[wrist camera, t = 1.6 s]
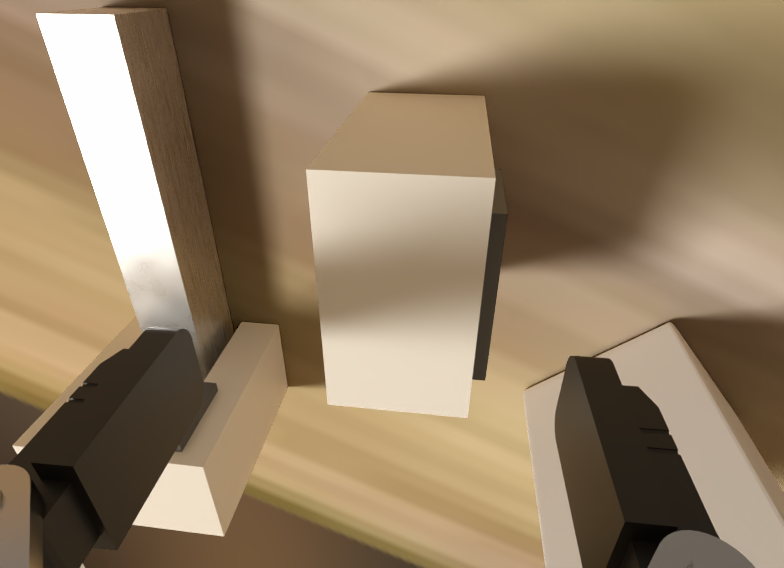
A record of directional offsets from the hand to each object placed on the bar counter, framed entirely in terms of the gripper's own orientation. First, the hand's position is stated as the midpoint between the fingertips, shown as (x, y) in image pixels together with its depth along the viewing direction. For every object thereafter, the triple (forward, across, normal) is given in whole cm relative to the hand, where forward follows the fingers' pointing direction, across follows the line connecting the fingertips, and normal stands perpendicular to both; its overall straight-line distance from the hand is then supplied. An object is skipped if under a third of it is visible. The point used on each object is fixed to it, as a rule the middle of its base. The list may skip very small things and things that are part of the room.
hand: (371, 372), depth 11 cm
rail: (+10, +10, +2) cm, 14 cm away
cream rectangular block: (+10, 0, 0) cm, 10 cm away
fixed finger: (+10, +10, +9) cm, 17 cm away
